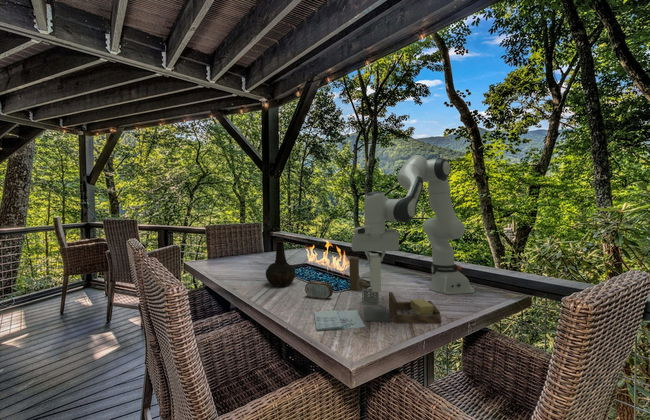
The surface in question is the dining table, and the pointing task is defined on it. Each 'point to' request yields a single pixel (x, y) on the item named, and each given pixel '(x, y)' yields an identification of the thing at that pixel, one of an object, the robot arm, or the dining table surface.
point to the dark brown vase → (280, 267)
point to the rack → (411, 317)
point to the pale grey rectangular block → (375, 273)
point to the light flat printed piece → (338, 320)
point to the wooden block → (355, 274)
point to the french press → (371, 300)
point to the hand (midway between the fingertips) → (375, 261)
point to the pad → (376, 315)
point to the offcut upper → (422, 306)
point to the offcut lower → (417, 312)
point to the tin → (318, 289)
